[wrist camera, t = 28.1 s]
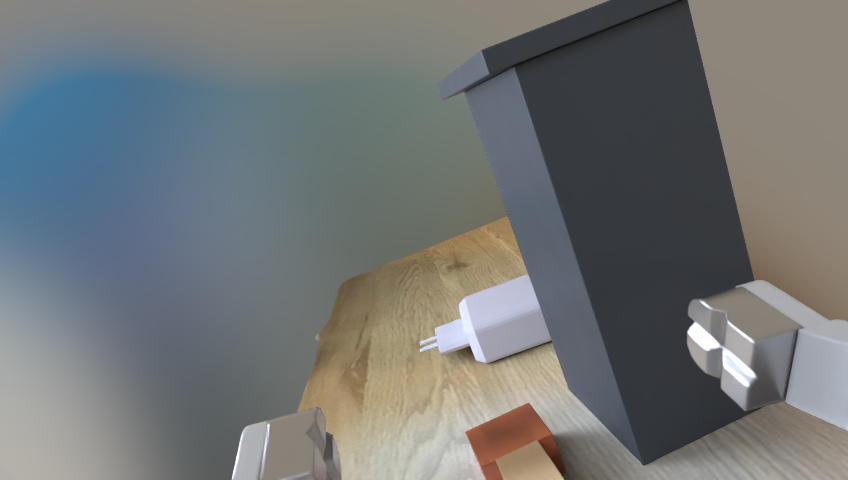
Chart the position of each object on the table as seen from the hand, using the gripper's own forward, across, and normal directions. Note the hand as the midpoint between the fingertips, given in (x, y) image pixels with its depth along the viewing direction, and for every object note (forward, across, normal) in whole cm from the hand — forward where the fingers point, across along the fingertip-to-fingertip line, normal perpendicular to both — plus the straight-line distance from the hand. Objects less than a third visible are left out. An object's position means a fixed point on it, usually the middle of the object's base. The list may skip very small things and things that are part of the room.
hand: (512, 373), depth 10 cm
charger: (+32, -6, +27) cm, 43 cm away
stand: (+16, -14, +21) cm, 30 cm away
